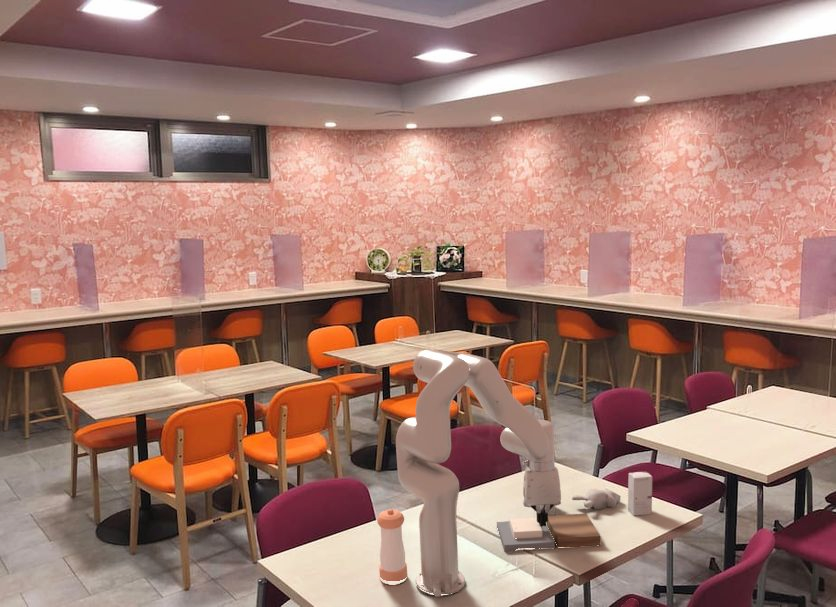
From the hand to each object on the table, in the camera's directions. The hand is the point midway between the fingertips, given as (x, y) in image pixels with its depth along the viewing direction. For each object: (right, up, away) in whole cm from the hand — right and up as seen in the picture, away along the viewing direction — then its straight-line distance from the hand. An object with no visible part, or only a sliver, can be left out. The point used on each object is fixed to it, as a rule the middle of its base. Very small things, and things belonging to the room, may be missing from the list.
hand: (542, 524), depth 205 cm
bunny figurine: (+21, 0, +19) cm, 28 cm away
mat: (-5, -4, 0) cm, 7 cm away
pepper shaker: (-42, -9, -18) cm, 47 cm away
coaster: (-5, -2, 0) cm, 5 cm away
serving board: (+9, -3, +1) cm, 10 cm away
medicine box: (+4, -1, +17) cm, 18 cm away
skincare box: (+32, -1, +14) cm, 35 cm away
